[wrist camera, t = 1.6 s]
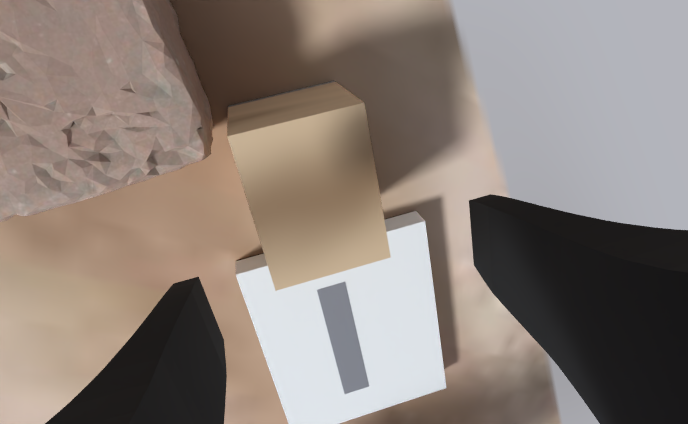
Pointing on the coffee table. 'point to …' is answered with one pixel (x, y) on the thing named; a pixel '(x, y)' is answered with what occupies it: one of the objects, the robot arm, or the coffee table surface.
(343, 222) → the block
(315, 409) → the board
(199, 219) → the coffee table surface
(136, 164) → the brick
